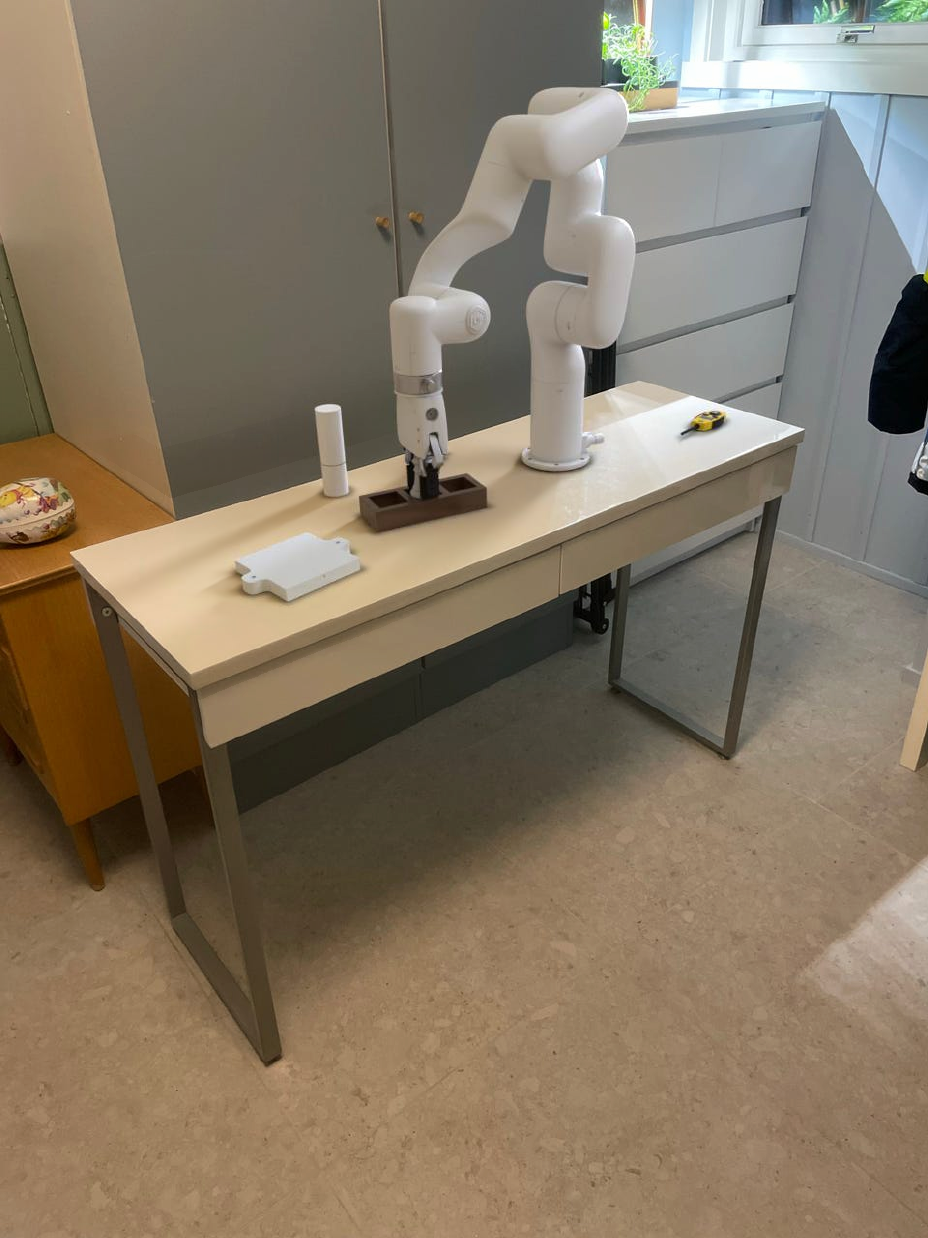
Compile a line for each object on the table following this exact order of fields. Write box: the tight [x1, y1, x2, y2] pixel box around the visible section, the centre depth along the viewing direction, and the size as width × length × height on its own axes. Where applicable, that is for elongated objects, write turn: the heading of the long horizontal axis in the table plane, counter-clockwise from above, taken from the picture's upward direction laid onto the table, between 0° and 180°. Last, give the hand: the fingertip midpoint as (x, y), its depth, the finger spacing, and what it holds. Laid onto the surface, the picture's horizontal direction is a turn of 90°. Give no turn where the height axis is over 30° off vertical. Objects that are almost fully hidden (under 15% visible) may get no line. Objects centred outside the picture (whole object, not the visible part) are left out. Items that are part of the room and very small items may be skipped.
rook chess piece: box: [410, 453, 432, 500], centre depth 151 cm, size 4×4×8 cm
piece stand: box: [358, 472, 488, 533], centre depth 153 cm, size 7×20×4 cm, turn 117°
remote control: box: [680, 409, 727, 436], centre depth 185 cm, size 5×2×15 cm
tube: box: [314, 403, 349, 498], centre depth 158 cm, size 4×4×15 cm
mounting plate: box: [234, 531, 361, 602], centre depth 136 cm, size 18×13×2 cm
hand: (423, 490), depth 152 cm, fingers closed on rook chess piece, 4 cm apart
